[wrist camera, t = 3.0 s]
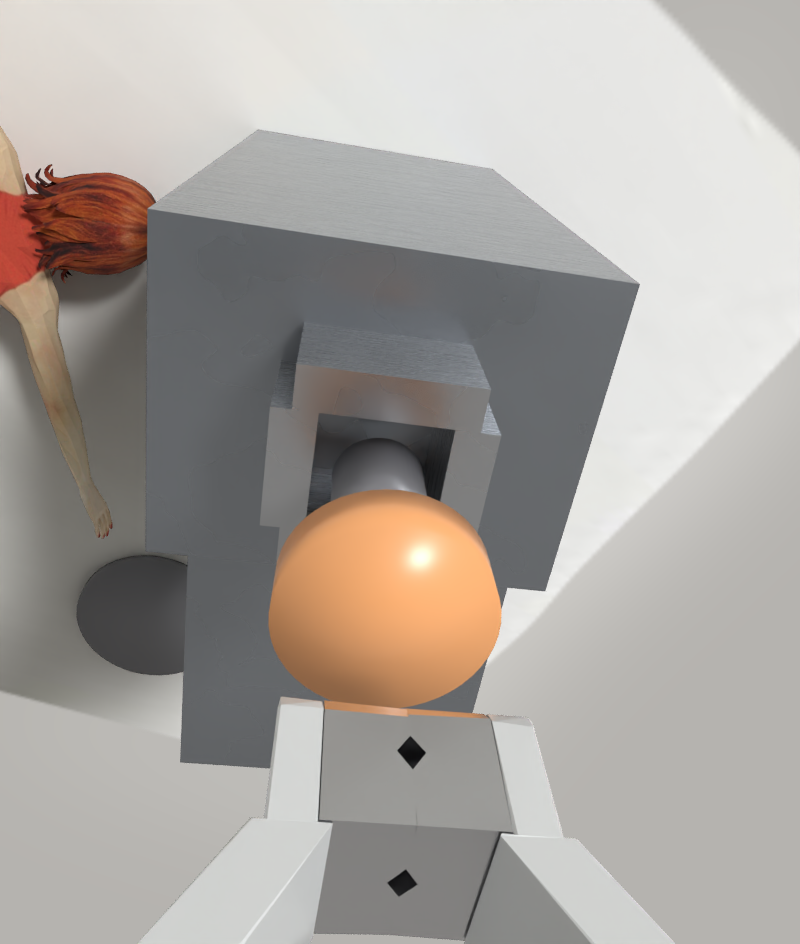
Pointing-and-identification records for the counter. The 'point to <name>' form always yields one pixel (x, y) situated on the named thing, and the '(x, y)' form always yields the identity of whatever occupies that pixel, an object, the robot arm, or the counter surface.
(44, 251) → the figurine
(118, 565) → the pad
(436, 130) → the counter surface
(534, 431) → the housing
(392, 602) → the plunger
